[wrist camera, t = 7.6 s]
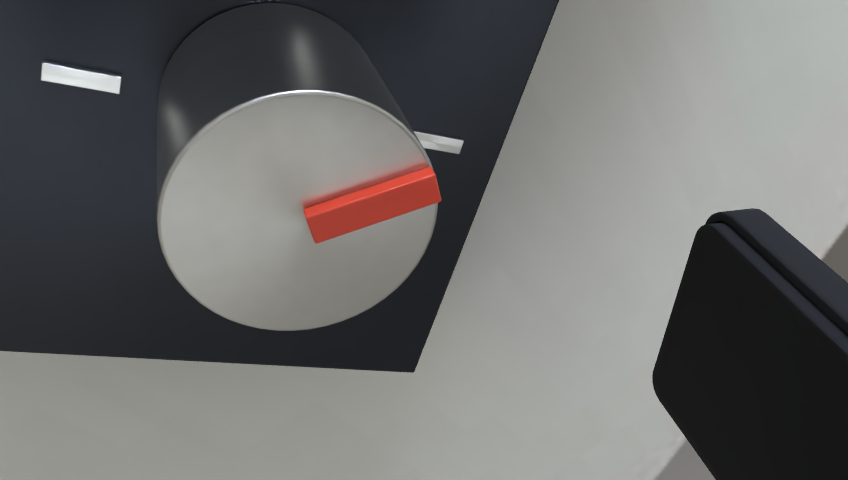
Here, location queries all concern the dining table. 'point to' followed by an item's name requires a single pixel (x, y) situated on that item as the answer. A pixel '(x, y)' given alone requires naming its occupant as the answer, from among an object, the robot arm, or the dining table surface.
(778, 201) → the dining table surface
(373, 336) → the control panel
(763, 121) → the dining table surface
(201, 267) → the dial knob
